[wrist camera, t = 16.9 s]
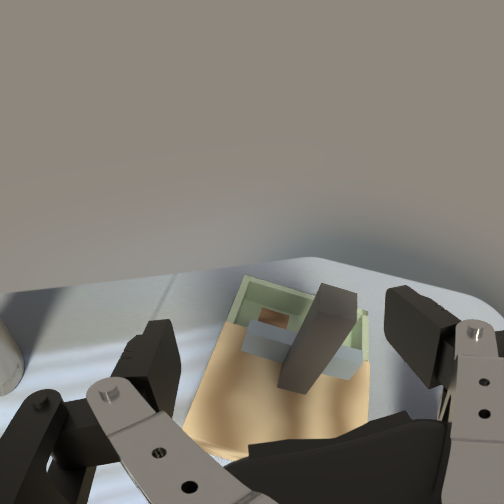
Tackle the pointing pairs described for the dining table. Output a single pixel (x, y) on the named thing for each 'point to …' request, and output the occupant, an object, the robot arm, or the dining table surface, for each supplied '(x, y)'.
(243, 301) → the tray
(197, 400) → the board
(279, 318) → the brown wood cube
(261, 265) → the dining table surface
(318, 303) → the scraper
